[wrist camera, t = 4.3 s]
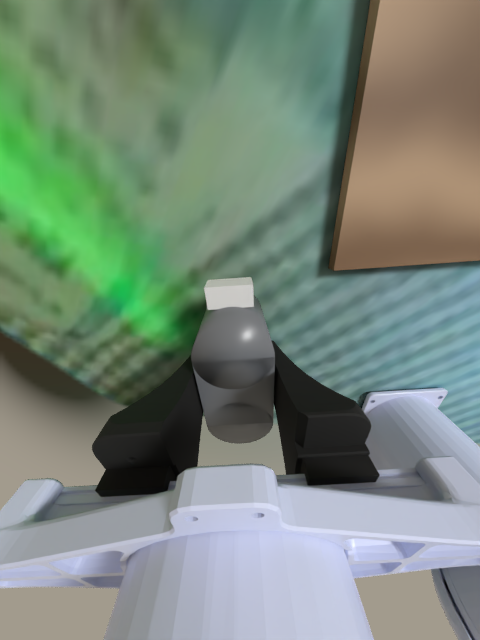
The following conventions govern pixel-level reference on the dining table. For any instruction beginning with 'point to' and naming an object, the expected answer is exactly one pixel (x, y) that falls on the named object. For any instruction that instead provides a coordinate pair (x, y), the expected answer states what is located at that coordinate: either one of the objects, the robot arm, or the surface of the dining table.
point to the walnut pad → (413, 139)
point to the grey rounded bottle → (234, 363)
